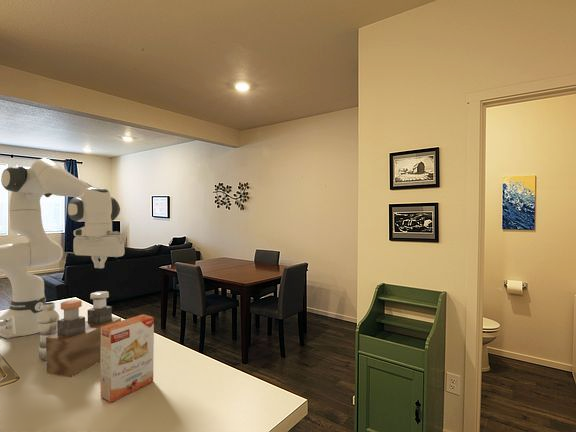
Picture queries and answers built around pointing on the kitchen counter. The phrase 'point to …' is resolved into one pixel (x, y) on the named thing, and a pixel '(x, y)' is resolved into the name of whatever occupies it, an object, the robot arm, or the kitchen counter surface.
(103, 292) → the grey plunger
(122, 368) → the cracker box
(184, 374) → the kitchen counter surface
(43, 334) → the plastic bottle
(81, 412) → the kitchen counter surface
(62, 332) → the stand
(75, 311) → the orange ball
